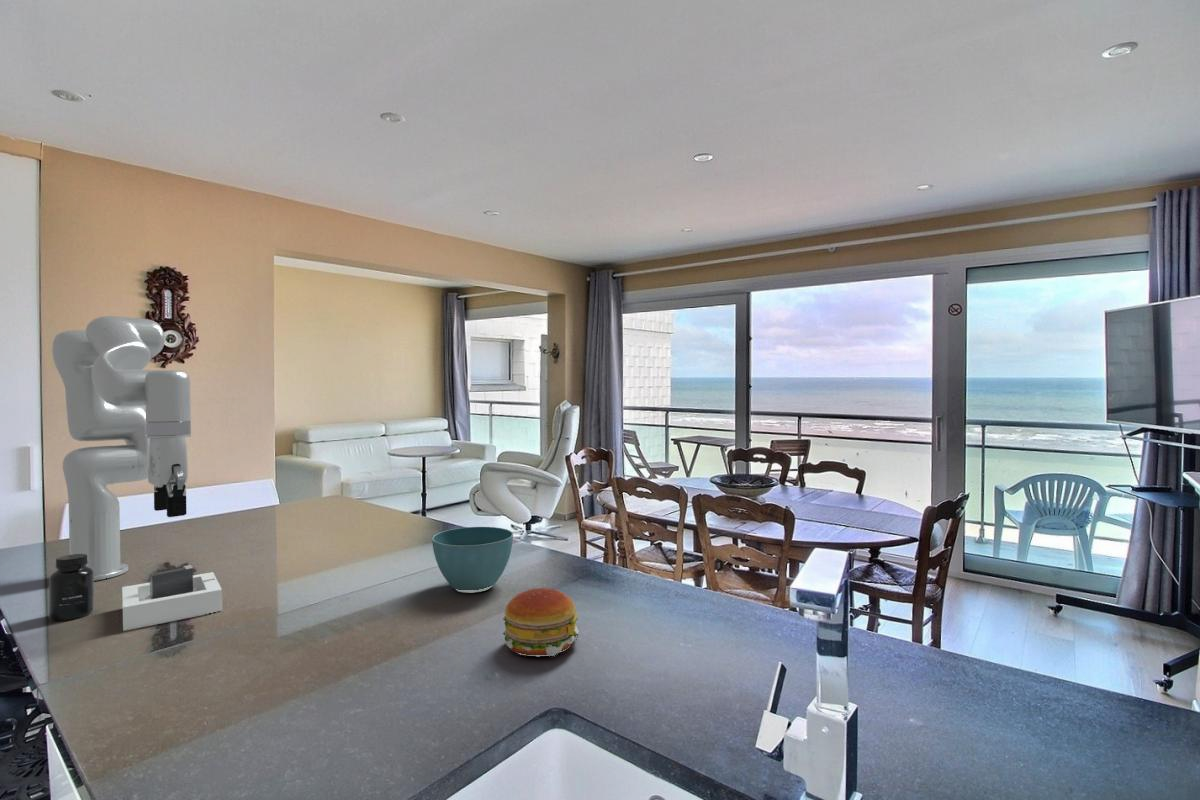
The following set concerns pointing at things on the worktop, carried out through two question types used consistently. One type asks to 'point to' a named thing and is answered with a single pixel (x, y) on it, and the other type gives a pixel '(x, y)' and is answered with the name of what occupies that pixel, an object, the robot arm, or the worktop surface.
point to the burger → (540, 622)
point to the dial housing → (170, 603)
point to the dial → (171, 583)
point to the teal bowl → (472, 555)
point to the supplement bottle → (71, 588)
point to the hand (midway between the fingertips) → (170, 512)
